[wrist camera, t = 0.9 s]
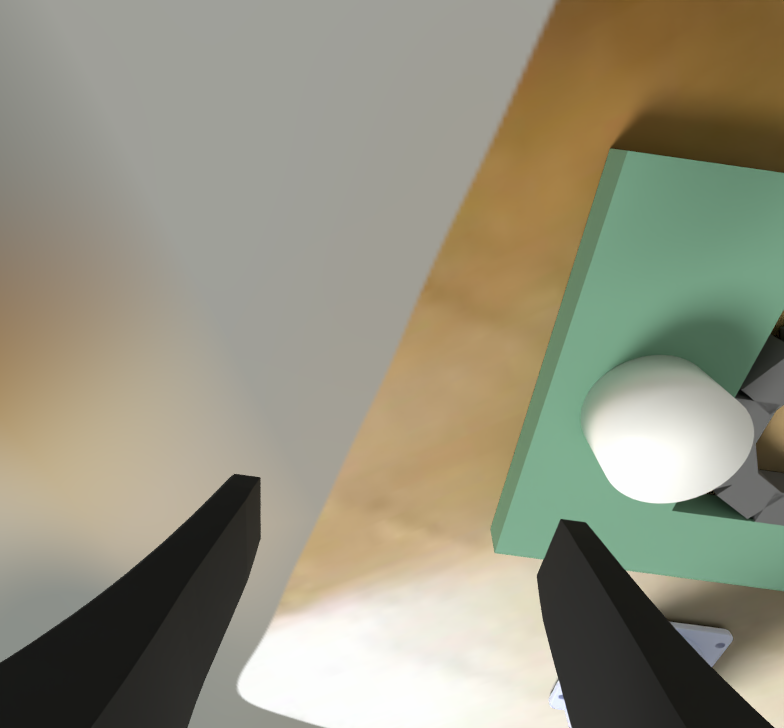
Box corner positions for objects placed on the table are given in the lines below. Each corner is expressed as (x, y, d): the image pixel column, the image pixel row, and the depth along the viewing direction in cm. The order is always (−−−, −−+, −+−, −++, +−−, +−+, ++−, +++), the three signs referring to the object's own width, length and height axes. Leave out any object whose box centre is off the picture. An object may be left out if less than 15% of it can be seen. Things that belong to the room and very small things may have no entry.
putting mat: (831, 574, 24) (856, 600, 23) (490, 528, 24) (494, 553, 23) (1130, 222, 16) (1196, 231, 14) (610, 148, 16) (627, 150, 14)
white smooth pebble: (680, 467, 20) (714, 511, 17) (564, 452, 20) (583, 493, 17) (735, 364, 17) (783, 399, 15) (604, 346, 17) (632, 378, 15)
